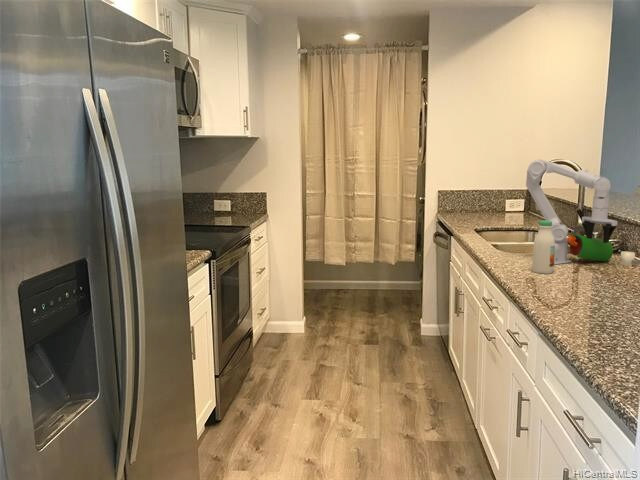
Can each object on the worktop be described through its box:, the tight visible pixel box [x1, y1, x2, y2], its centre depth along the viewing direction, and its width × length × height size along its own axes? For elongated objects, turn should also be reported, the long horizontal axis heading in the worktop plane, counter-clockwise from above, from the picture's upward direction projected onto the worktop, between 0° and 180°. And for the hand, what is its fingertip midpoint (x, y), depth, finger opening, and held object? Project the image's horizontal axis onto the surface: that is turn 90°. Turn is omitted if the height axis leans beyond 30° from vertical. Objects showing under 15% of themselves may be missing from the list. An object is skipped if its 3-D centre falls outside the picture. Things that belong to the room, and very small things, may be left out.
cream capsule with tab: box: [619, 250, 640, 267], centre depth 218 cm, size 5×7×5 cm
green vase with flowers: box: [567, 234, 614, 263], centre depth 223 cm, size 10×9×20 cm
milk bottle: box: [531, 220, 555, 275], centre depth 207 cm, size 8×8×20 cm
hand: (597, 241), depth 218 cm, fingers open, 7 cm apart
